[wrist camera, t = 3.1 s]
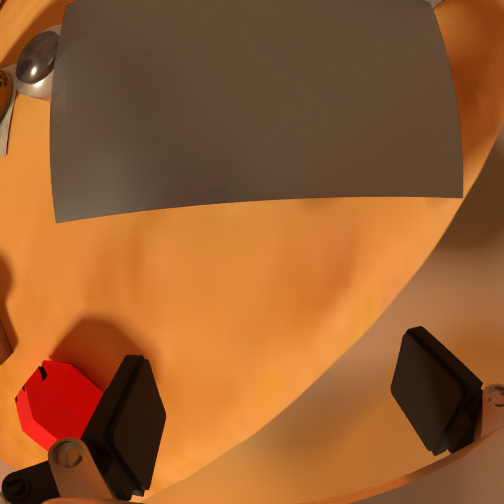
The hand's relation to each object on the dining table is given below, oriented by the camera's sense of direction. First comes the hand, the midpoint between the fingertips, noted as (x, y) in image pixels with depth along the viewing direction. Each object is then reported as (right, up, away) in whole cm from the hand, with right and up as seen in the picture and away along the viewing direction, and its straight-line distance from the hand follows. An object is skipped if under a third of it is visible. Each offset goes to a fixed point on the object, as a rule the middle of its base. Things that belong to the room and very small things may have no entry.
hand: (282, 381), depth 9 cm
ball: (-17, -8, +12) cm, 22 cm away
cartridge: (-13, +16, +5) cm, 21 cm away
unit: (-2, +11, +7) cm, 14 cm away
